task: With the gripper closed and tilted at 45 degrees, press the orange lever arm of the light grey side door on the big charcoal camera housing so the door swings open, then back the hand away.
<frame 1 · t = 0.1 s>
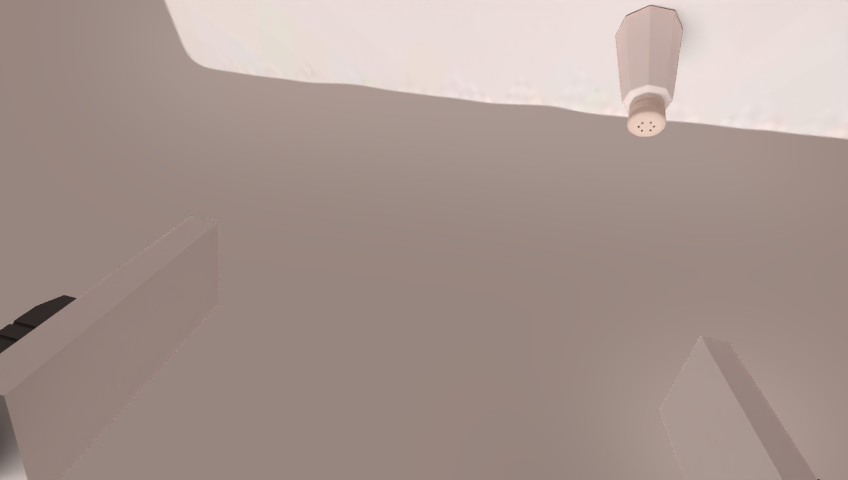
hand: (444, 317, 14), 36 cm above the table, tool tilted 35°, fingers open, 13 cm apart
pepper shaker: (648, 30, 44), on the table
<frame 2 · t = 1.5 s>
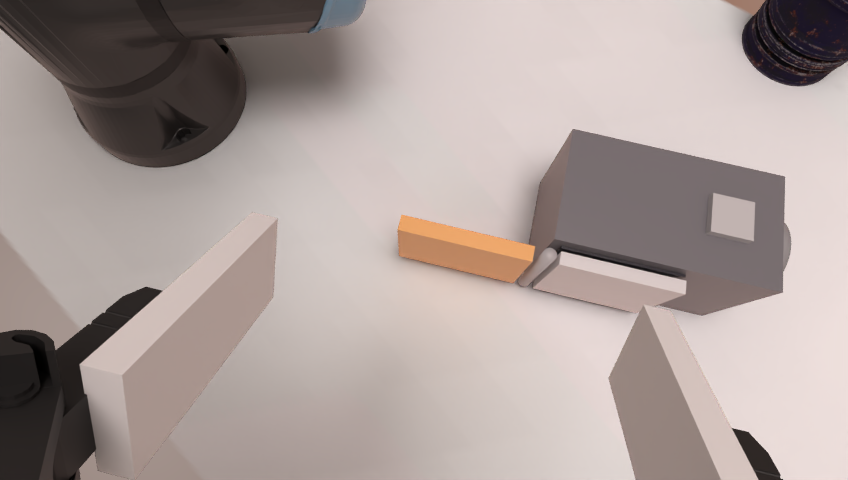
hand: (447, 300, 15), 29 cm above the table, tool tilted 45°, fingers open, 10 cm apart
camera housing: (618, 246, 46), on the table
side door: (528, 267, 40), point 5 cm above the table, hinge at 0.0°
storage jar: (786, 48, 54), on the table
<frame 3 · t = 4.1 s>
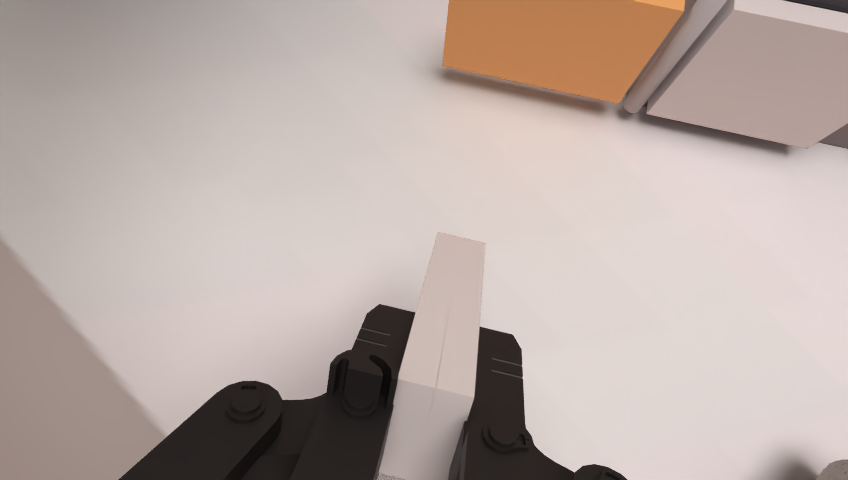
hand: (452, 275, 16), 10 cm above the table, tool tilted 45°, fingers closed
camera housing: (762, 66, 31), on the table
side door: (655, 55, 25), point 5 cm above the table, hinge at 0.0°
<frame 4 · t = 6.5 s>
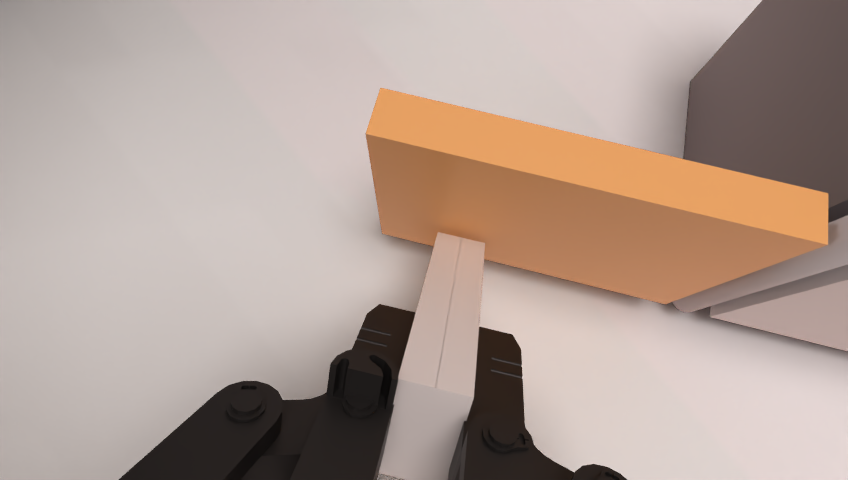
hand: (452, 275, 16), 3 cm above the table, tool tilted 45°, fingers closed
side door: (742, 264, 14), point 5 cm above the table, hinge at 1.0°, touching gripper
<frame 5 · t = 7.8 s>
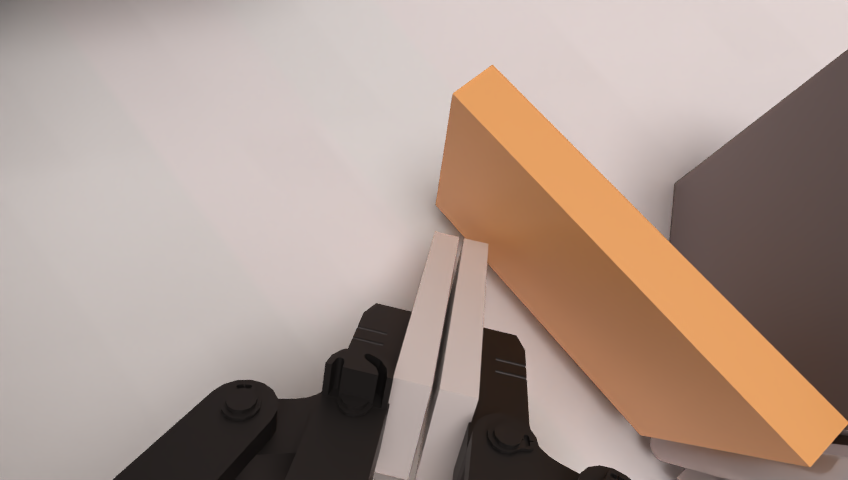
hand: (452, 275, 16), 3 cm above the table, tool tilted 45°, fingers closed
side door: (730, 443, 13), point 5 cm above the table, hinge at 37.1°, touching gripper
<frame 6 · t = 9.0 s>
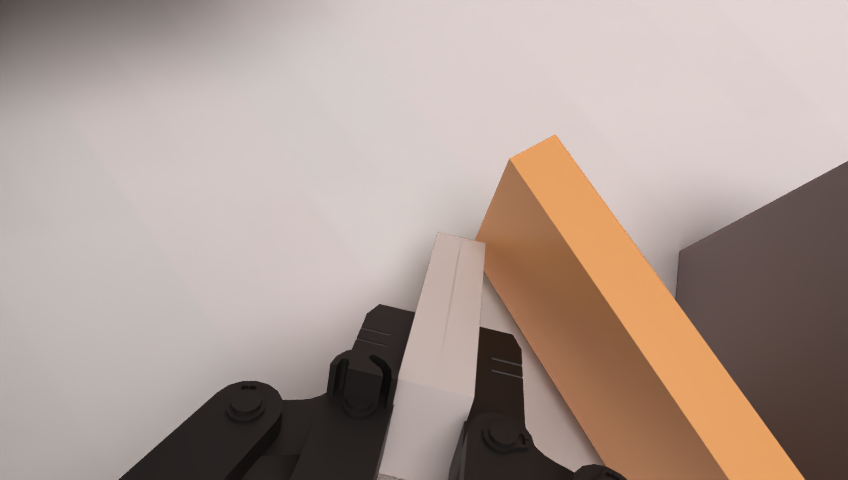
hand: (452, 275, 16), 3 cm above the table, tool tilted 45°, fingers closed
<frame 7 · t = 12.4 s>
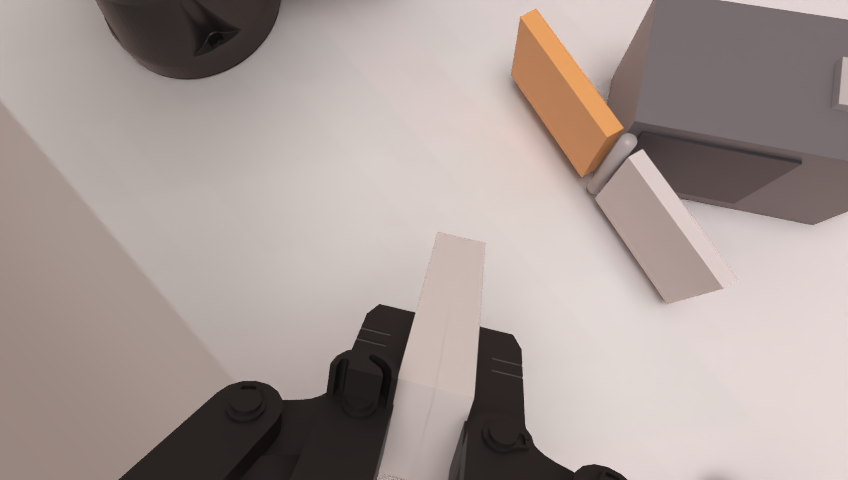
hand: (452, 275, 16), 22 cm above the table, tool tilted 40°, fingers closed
camera housing: (707, 147, 39), on the table
side door: (604, 159, 34), point 5 cm above the table, hinge at 46.7°
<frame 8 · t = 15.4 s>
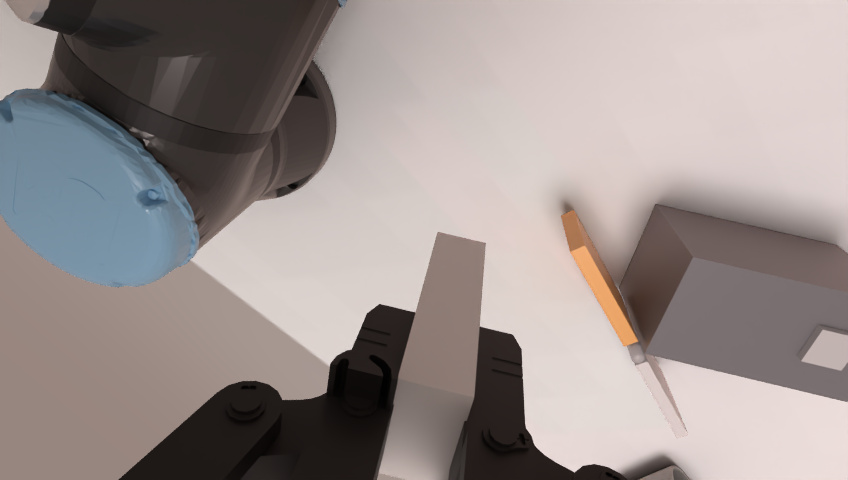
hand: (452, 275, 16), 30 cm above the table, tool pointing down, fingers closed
camera housing: (722, 267, 47), on the table
side door: (624, 322, 45), point 5 cm above the table, hinge at 46.7°
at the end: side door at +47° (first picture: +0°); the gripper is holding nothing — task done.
